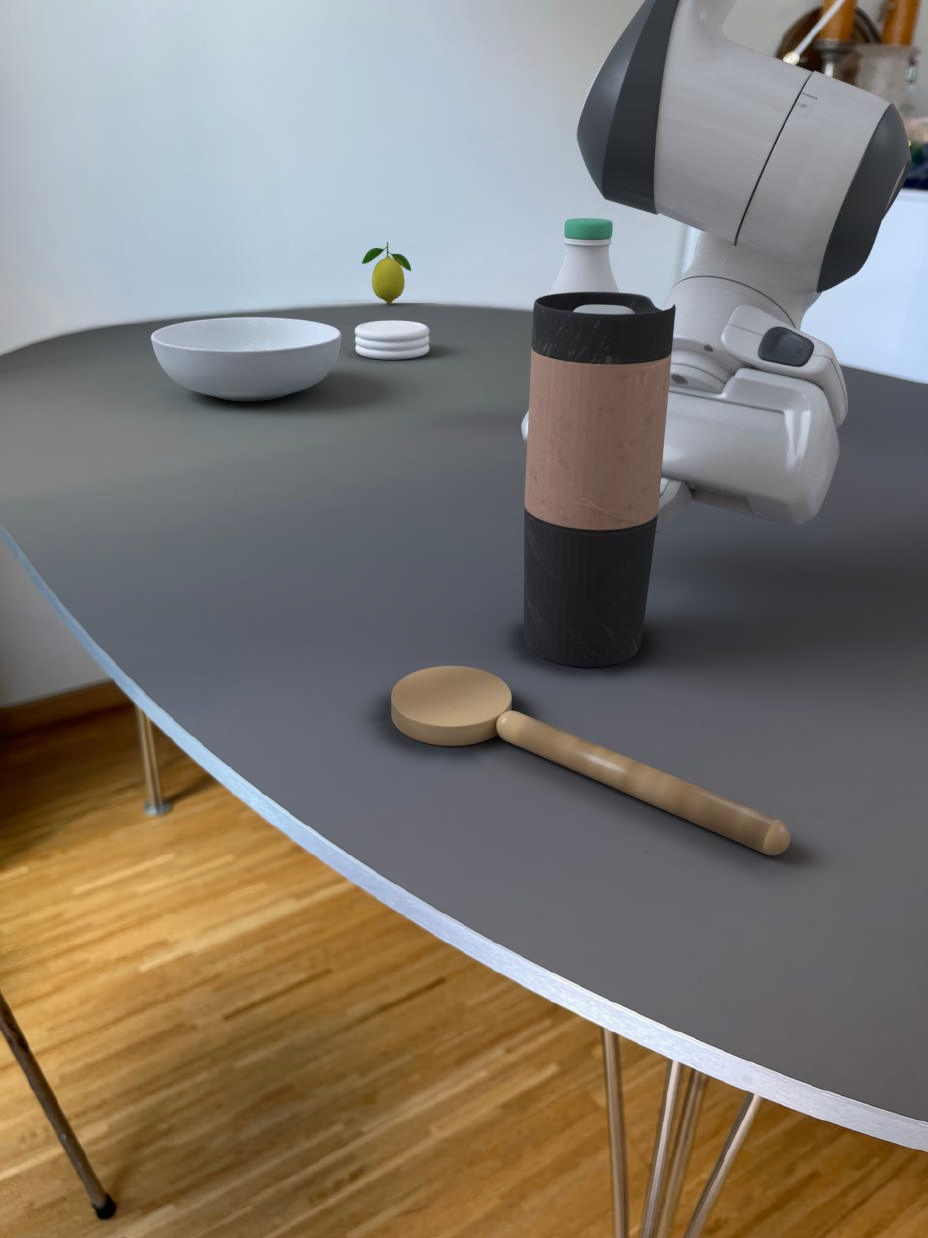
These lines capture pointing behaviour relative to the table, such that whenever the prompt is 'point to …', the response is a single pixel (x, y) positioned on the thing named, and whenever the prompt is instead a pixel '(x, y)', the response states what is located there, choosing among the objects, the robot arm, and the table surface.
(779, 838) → the wooden spoon
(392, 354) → the coaster
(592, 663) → the travel mug
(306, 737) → the table surface
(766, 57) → the robot arm
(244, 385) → the serving bowl
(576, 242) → the milk bottle
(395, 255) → the lemon
